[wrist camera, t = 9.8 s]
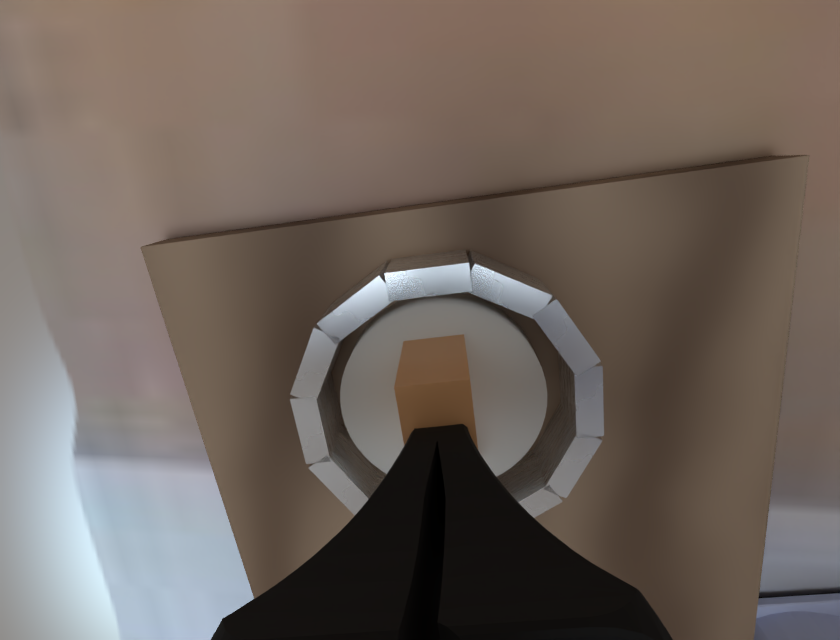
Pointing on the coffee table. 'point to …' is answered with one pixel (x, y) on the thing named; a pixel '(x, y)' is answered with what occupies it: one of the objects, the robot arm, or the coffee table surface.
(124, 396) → the coffee table surface
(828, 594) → the robot arm
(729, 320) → the walnut board
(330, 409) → the white segmented ring
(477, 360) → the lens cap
